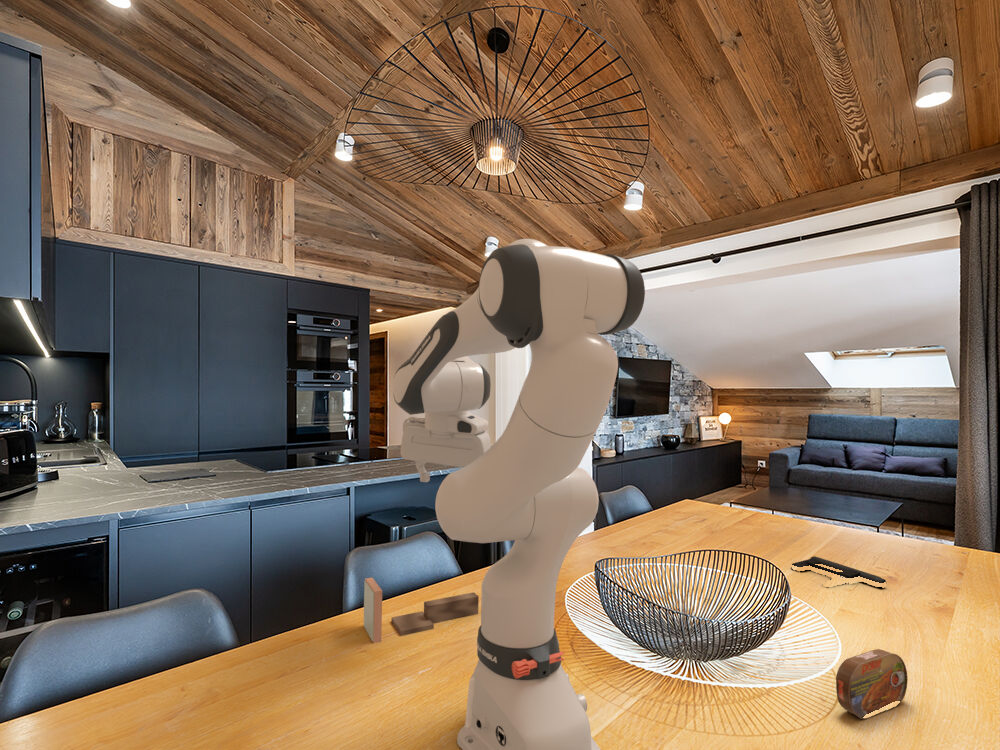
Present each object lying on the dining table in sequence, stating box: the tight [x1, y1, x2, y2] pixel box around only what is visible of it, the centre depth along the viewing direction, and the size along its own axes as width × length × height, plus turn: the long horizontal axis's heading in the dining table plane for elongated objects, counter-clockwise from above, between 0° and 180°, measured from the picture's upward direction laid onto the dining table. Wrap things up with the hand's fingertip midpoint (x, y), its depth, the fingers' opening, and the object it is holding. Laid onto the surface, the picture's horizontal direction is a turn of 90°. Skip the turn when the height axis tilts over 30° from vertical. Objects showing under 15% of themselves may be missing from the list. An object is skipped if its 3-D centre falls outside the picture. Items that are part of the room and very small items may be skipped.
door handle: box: [791, 555, 887, 583], centre depth 140 cm, size 3×20×16 cm
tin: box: [835, 648, 908, 720], centre depth 82 cm, size 15×3×8 cm, turn 114°
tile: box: [363, 577, 383, 644], centre depth 104 cm, size 8×2×10 cm, turn 28°
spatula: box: [391, 592, 480, 637], centre depth 111 cm, size 18×7×4 cm, turn 118°
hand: (444, 484), depth 108 cm, fingers open, 8 cm apart
